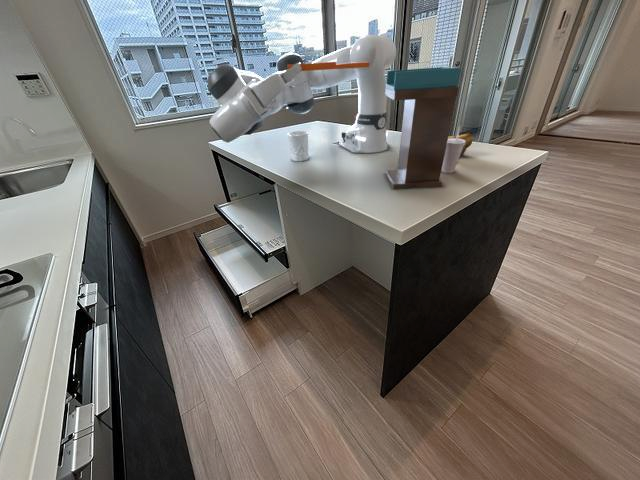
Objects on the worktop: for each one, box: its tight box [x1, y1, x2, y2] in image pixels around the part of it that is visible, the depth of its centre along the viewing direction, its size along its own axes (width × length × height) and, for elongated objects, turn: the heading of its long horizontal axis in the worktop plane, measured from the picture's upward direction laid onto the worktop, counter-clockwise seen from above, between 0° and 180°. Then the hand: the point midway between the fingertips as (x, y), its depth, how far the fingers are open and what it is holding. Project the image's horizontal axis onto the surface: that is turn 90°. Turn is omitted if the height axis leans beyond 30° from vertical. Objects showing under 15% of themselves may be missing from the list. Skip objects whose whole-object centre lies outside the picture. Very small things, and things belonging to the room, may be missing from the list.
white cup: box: [287, 130, 310, 162], centre depth 105 cm, size 8×8×10 cm
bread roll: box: [448, 133, 474, 157], centre depth 97 cm, size 13×10×8 cm
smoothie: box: [441, 125, 466, 174], centre depth 82 cm, size 6×6×14 cm
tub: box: [385, 66, 462, 91], centre depth 67 cm, size 15×11×4 cm
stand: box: [385, 86, 460, 190], centre depth 75 cm, size 16×13×26 cm
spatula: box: [288, 62, 370, 71], centre depth 66 cm, size 20×6×2 cm, turn 88°
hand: (301, 65), depth 66 cm, fingers closed on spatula, 3 cm apart
